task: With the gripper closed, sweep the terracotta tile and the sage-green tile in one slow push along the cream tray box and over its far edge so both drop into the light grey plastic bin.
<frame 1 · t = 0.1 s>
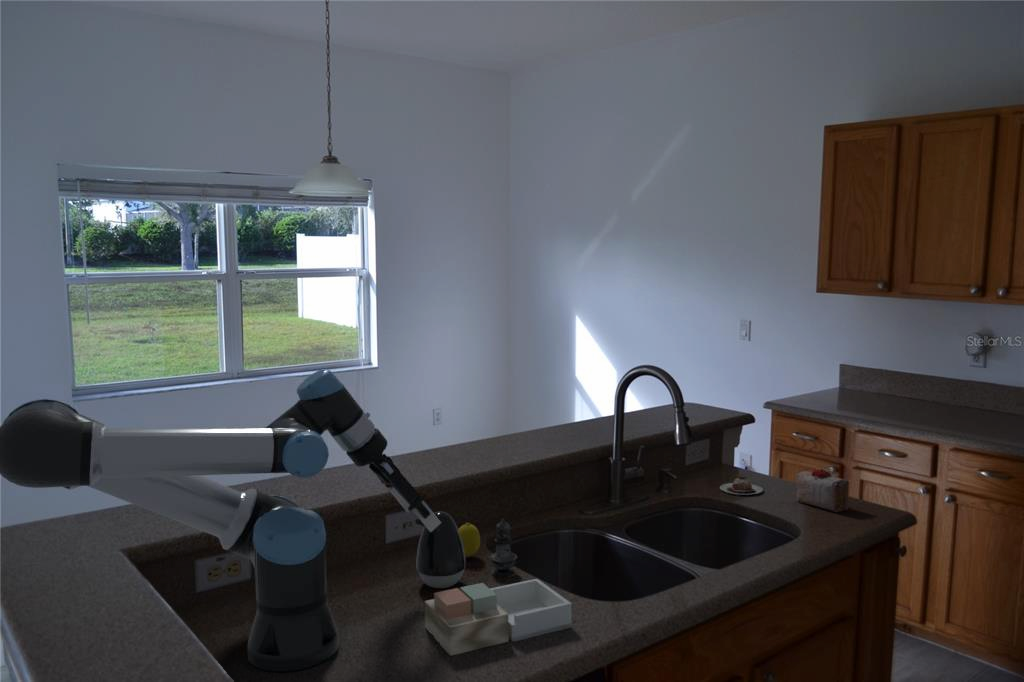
hand: (423, 517, 159), 15 cm above the countertop, tool tilted 35°, fingers open, 13 cm apart
lemon: (468, 558, 179), on the countertop
cream tray box: (466, 634, 141), on the countertop
glossy black oval shape: (440, 584, 164), on the countertop
food item: (821, 506, 215), on the countertop
dark grey figurine: (503, 573, 170), on the countertop
grey bin: (525, 620, 147), on the countertop
pastry: (741, 492, 229), on the countertop
terracotta tile: (452, 610, 140), point 5 cm above the countertop, touching cream tray box
sage tile: (478, 604, 142), point 5 cm above the countertop, touching cream tray box
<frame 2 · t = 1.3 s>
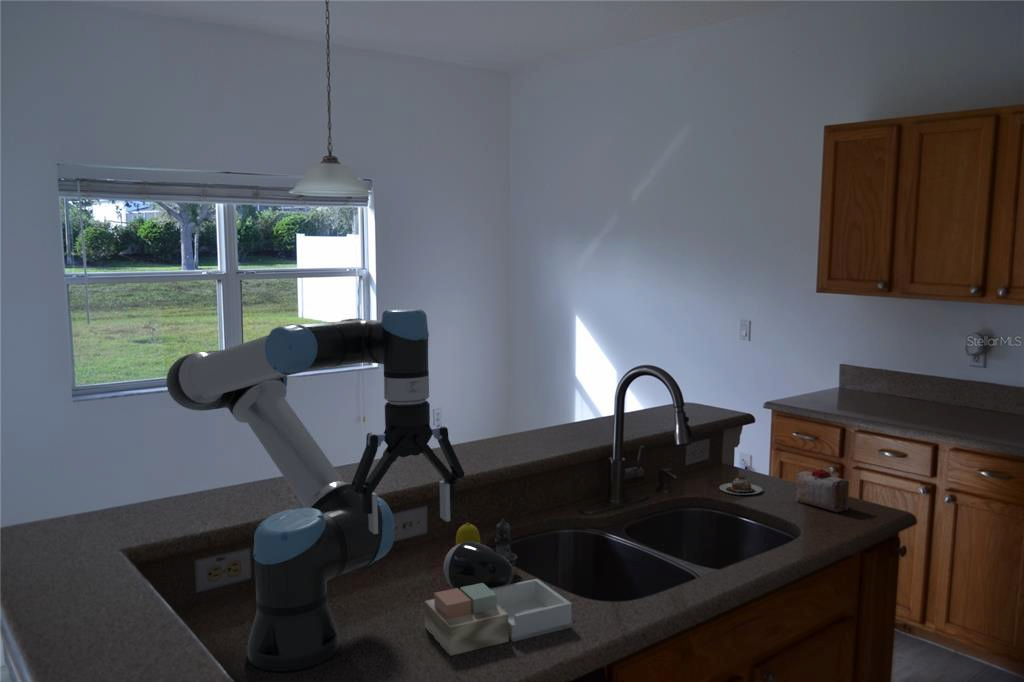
hand: (410, 525, 135), 21 cm above the countertop, tool pointing down, fingers open, 12 cm apart
glossy black oval shape: (452, 564, 162), point 5 cm above the countertop, touching grey bin
everything else where it was.
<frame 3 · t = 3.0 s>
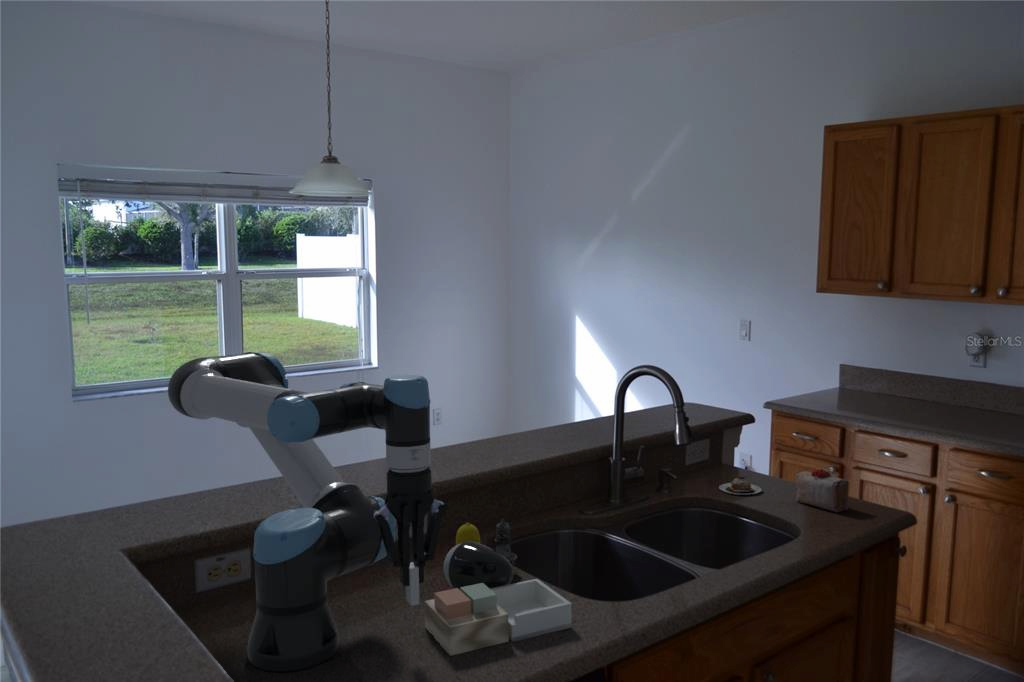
hand: (412, 602, 136), 8 cm above the countertop, tool pointing down, fingers closed
nothing on the countertop moved.
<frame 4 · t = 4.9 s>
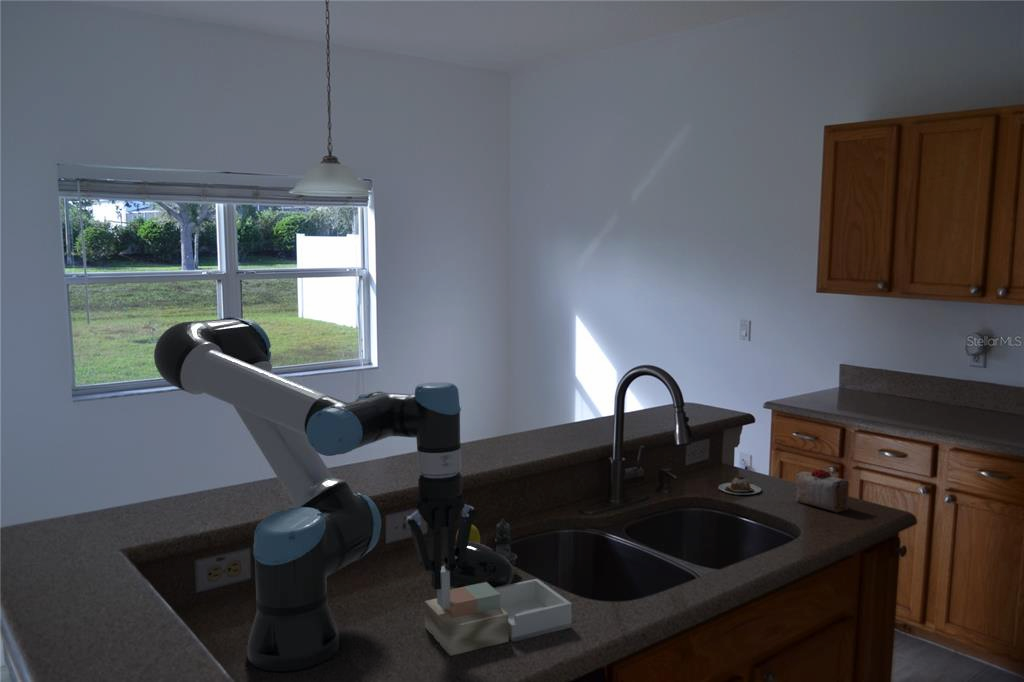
hand: (443, 605, 138), 6 cm above the countertop, tool pointing down, fingers closed
terracotta tile: (458, 608, 140), point 5 cm above the countertop, touching gripper, sage tile
sage tile: (482, 603, 142), point 5 cm above the countertop, touching terracotta tile
everything else where it was.
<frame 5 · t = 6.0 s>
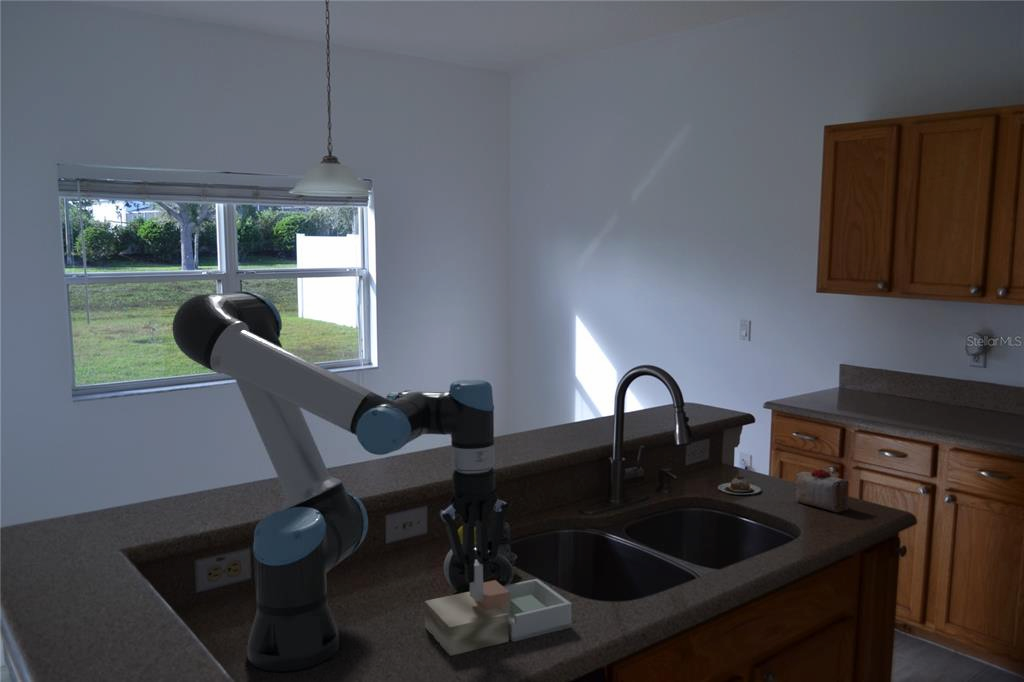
hand: (476, 597, 141), 6 cm above the countertop, tool pointing down, fingers closed
terracotta tile: (491, 601, 143), point 5 cm above the countertop, touching gripper
sage tile: (527, 603, 146), point 3 cm above the countertop, tilted 180°, touching grey bin
everything else where it was.
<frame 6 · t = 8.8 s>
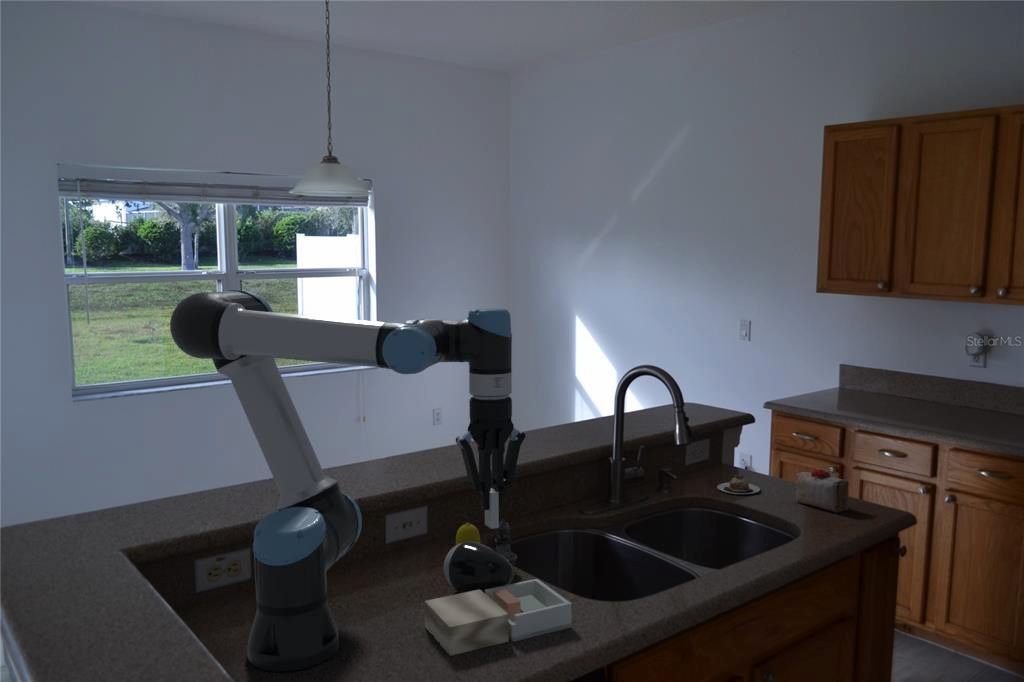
hand: (491, 525, 142), 19 cm above the countertop, tool pointing down, fingers closed
terracotta tile: (500, 609, 144), point 3 cm above the countertop, tilted 90°, touching grey bin
everything else where it was.
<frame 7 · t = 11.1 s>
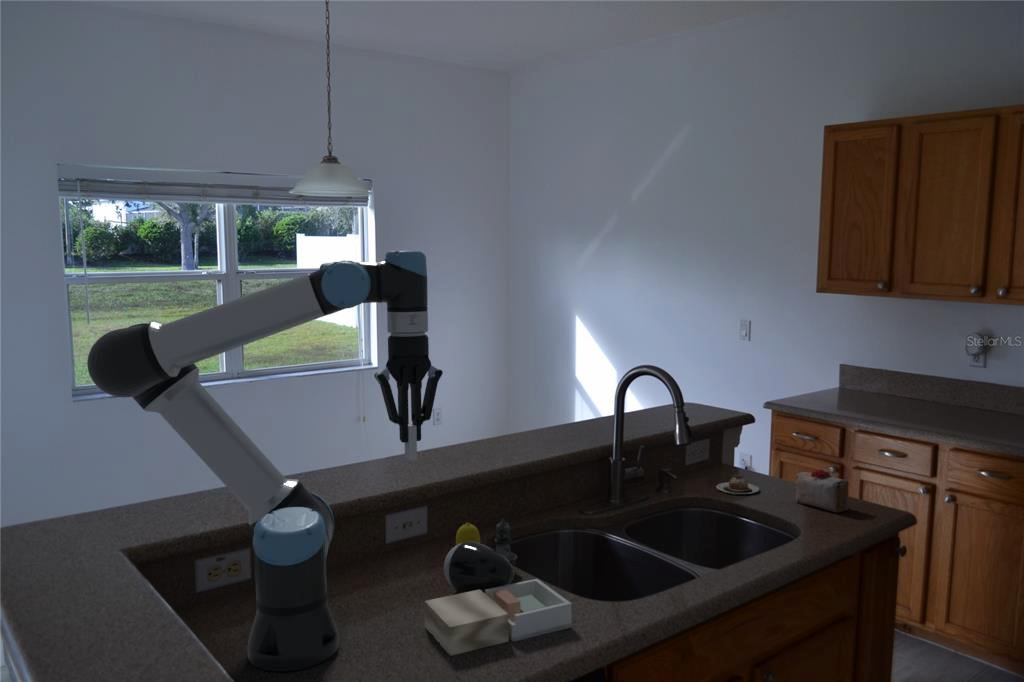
hand: (411, 458, 149), 29 cm above the countertop, tool pointing down, fingers closed
at the end: terracotta tile inside the target area on the grey bin (5.5 cm from its centre), point 3.0 cm above the grey bin's base; sage tile inside the target area on the grey bin (0.2 cm from its centre), point 3.3 cm above the grey bin's base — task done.
